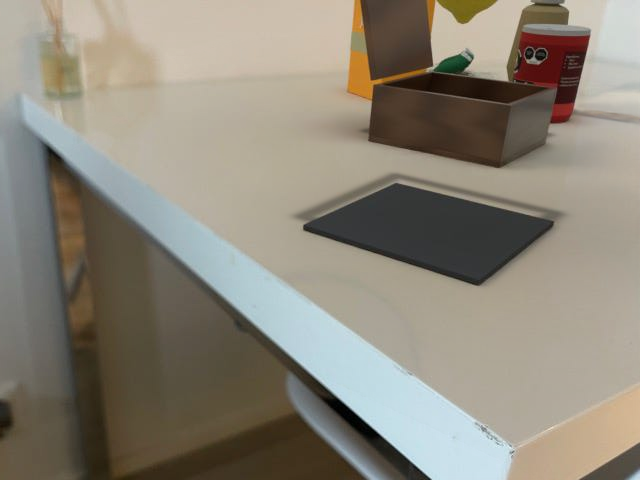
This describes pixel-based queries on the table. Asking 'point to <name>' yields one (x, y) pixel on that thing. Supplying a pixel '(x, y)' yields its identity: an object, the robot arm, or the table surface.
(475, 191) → the table surface
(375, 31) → the lid
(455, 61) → the green rounded piece
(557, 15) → the squeeze bottle
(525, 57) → the canned food
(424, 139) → the chest
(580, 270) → the table surface
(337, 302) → the table surface
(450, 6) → the lemon
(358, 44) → the orange juice
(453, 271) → the mat
